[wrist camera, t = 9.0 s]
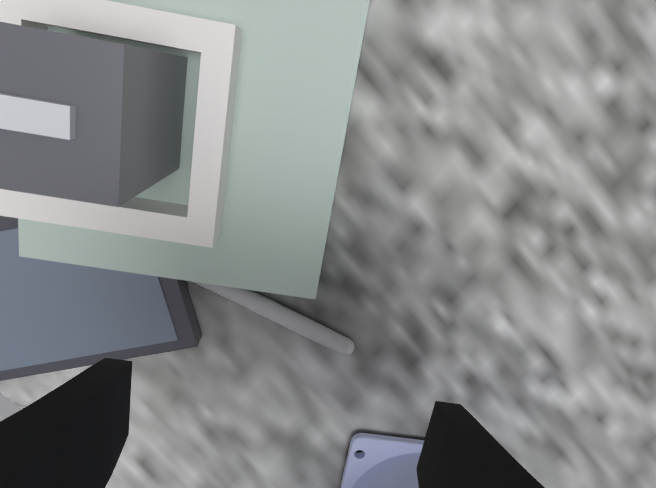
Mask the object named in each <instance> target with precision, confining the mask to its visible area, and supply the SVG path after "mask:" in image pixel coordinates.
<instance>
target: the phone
mask: <svg viewBox="0 0 656 488" xmlns="http://www.w3.org/2000/svg"><path fill="white" fill-rule="evenodd" d="M201 337H202V335H201V332H200V329H199V325H198V322H197V319H196V315H195V312H194V309H193V305H192V302H191V298H190V295H189V292H188V288H187V285H186V282H185V280H178V279H171V278H164V277H157V276H151V275H144V274H137V273H130V272H123V271H116V270H109V269H103V268H96V267H89V266H82V265H75V264H68V263H61V262H55V261H48V260H41V259H34V258H27V257H20V256H19V233H18V218H13V217H6V216H0V381H2V380H7V379H13V378H19V377H25V376H30V375H36V374H42V373H48V372H53V371H59V370H65V369H71V368H76V367H82V366H88V365H94V364H96V363H97V362H99V361H101V360H102V359H104V358H111V359H118V360H123V359H128V358H134V357H140V356H146V355H151V354H157V353H163V352H169V351H174V350H180V349H186V348H192V347H197V346H198V344H199V341H200V339H201Z"/></svg>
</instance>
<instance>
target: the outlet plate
mask: <svg viewBox="0 0 656 488" xmlns="http://www.w3.org/2000/svg"><path fill="white" fill-rule="evenodd" d="M369 2H370V0H0V22H5V23H11V24H16V25H21V26H27V27H32V28H38V29H43V30H49V31H54V32H60V33H65V34H71V35H76V36H81V37H87V38H92V39H98V40H103V41H109V42H114V43H120V44H125V45H130V46H135V47H140V48H145V49H149V50H154V51H159V52H164V53H169V54H174V55H179V56H184V57H188V61H187V75H186V88H185V101H184V114H183V127H182V141H181V154H180V167H179V169H178V170H176V171H175V172H173V173H171V174H170V175H168V176H167V177H165V178H164V179H162V180H160V181H159V182H157V183H156V184H154V185H153V186H151V187H149V188H148V189H146V190H145V191H143V192H142V193H140V194H138V195H137V196H135V197H134V198H132V199H131V200H129V201H127V202H126V203H124V204H123V205H121V206H120V207H114V206H107V205H101V204H94V203H88V202H82V201H75V200H69V199H62V198H56V197H50V196H43V195H37V194H30V193H24V192H17V191H11V190H5V189H0V216H6V217H13V218H18V233H19V256H20V257H27V258H34V259H41V260H48V261H55V262H61V263H68V264H75V265H82V266H89V267H96V268H103V269H109V270H116V271H123V272H130V273H137V274H144V275H151V276H157V277H164V278H171V279H178V280H185V281H192V282H198V283H205V284H212V285H219V286H226V287H233V288H240V289H246V290H253V291H260V292H267V293H274V294H281V295H288V296H294V297H301V298H308V299H316V294H317V288H318V283H319V277H320V272H321V266H322V261H323V255H324V250H325V244H326V239H327V233H328V228H329V222H330V217H331V211H332V206H333V200H334V195H335V189H336V184H337V178H338V173H339V167H340V162H341V156H342V151H343V145H344V140H345V134H346V129H347V123H348V118H349V112H350V106H351V101H352V95H353V90H354V84H355V79H356V73H357V68H358V62H359V57H360V51H361V46H362V40H363V35H364V29H365V24H366V18H367V13H368V7H369Z"/></svg>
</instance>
